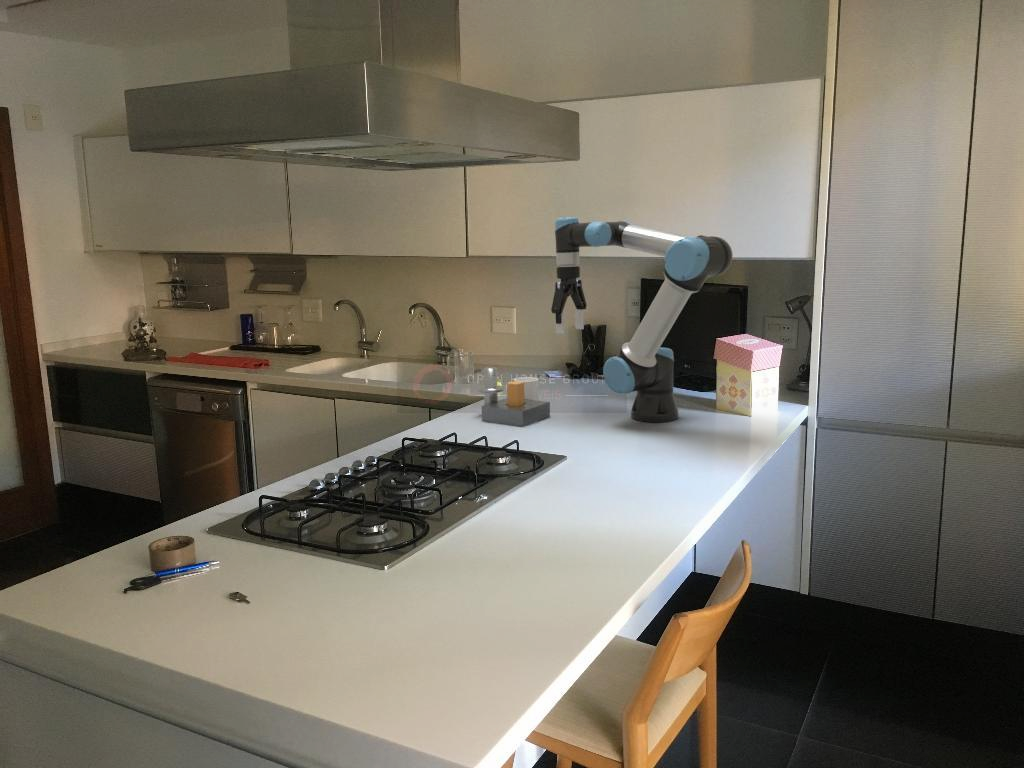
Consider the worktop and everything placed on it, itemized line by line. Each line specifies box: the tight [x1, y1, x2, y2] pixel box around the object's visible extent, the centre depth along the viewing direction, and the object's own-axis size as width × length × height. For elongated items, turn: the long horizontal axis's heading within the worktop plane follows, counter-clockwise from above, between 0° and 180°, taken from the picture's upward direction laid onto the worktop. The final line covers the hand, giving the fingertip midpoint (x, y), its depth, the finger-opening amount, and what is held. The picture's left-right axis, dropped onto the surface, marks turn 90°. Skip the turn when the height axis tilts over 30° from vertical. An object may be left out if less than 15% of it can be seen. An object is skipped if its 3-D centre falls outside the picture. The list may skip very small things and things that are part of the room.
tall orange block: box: [506, 380, 525, 406], centre depth 271 cm, size 4×4×12 cm
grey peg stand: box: [477, 366, 551, 428], centre depth 273 cm, size 22×16×16 cm
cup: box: [504, 376, 540, 401], centre depth 288 cm, size 8×12×10 cm
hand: (570, 331), depth 273 cm, fingers open, 13 cm apart
